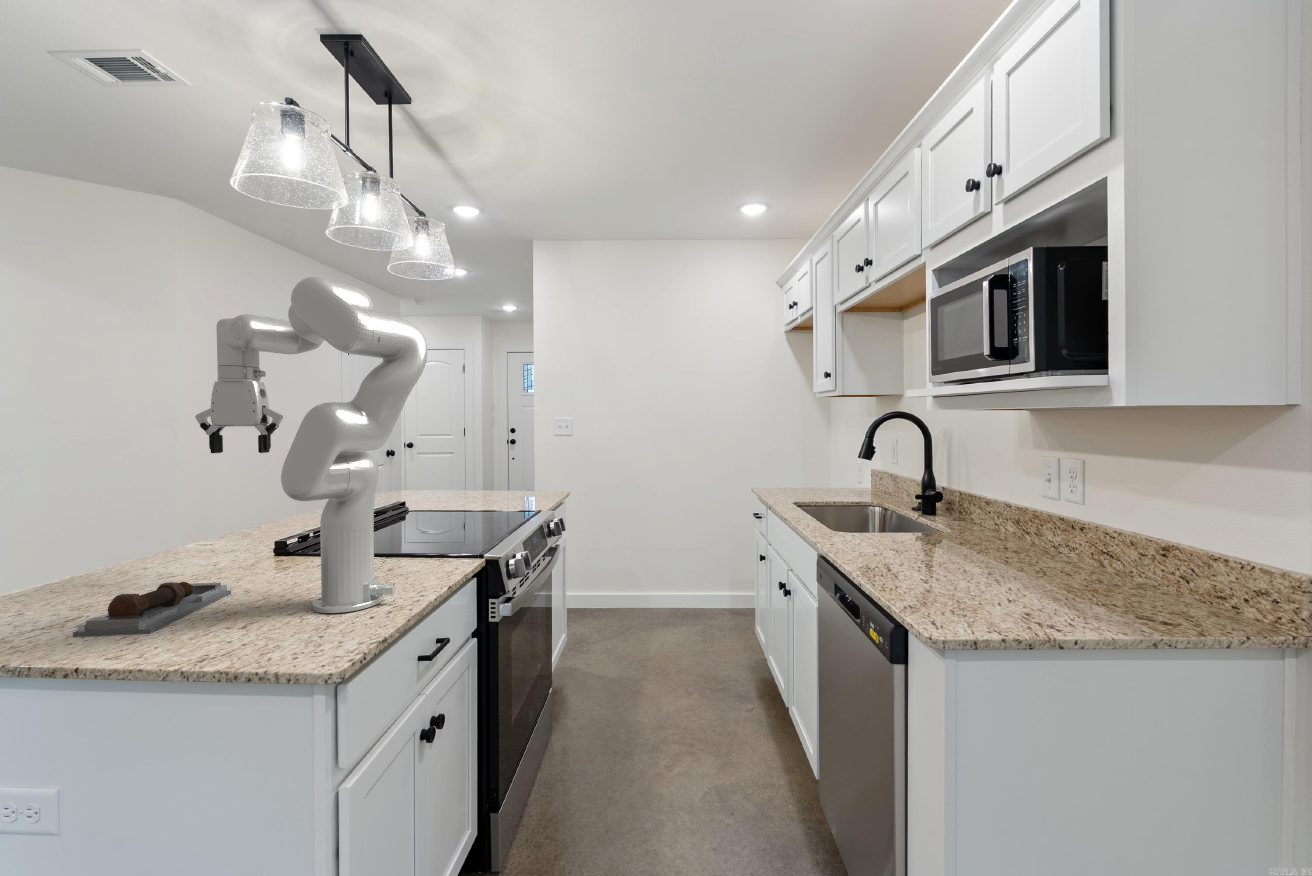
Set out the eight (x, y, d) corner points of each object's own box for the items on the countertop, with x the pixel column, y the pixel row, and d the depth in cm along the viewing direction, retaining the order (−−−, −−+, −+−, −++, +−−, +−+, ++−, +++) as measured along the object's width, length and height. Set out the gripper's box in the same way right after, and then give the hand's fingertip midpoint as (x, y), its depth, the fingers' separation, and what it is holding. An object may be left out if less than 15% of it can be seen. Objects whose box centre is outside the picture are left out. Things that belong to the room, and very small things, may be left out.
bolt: (190, 606, 116) (126, 631, 101) (168, 594, 116) (101, 617, 101) (205, 581, 116) (144, 602, 101) (183, 570, 116) (118, 589, 101)
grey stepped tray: (231, 593, 121) (231, 590, 121) (150, 633, 99) (149, 628, 99) (169, 596, 120) (169, 592, 120) (73, 636, 97) (72, 632, 97)
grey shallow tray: (226, 590, 121) (226, 581, 121) (144, 629, 99) (144, 618, 98) (173, 592, 120) (173, 583, 120) (78, 632, 97) (77, 621, 97)
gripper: (289, 377, 129) (291, 451, 130) (207, 376, 127) (209, 452, 128) (271, 374, 122) (273, 453, 122) (184, 374, 120) (186, 454, 120)
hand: (240, 452), depth 125 cm, fingers open, 9 cm apart
